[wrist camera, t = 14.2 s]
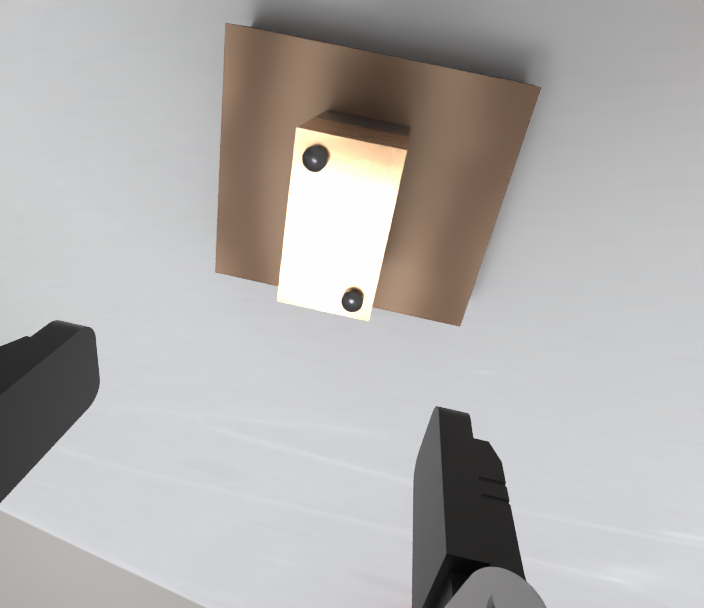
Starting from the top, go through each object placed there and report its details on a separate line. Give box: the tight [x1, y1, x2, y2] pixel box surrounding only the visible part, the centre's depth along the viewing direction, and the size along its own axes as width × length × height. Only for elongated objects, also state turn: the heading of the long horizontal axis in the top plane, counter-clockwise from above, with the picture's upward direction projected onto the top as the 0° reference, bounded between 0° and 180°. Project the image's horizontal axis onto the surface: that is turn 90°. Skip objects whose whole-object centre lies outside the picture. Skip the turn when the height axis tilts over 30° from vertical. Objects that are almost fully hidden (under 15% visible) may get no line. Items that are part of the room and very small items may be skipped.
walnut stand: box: [215, 23, 541, 326], centre depth 29 cm, size 16×14×4 cm
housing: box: [277, 109, 411, 321], centre depth 24 cm, size 8×4×7 cm, turn 170°
